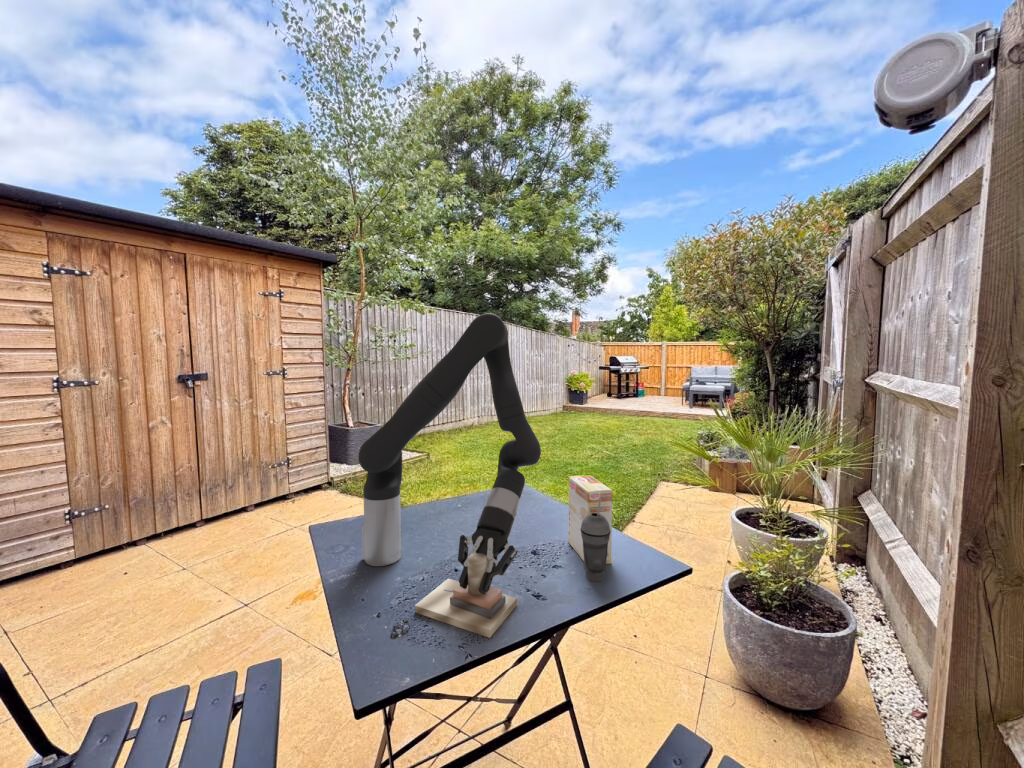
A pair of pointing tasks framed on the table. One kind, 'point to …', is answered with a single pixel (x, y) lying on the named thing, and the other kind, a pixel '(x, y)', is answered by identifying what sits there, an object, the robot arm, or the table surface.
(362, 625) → the table surface
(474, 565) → the block
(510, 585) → the table surface
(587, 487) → the coffeecake box
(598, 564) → the beverage cup
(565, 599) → the table surface
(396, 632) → the gravel pile
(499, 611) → the board
